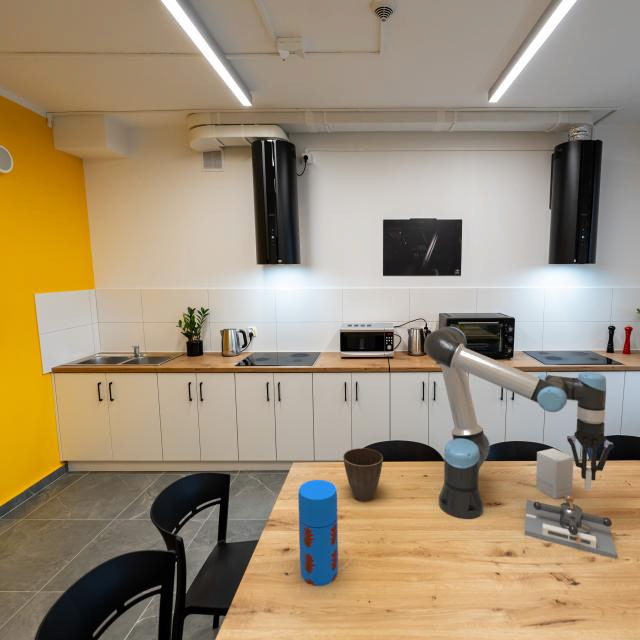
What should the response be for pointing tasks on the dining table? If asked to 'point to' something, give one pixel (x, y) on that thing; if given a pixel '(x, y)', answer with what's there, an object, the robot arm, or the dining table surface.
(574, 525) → the capstan
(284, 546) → the dining table surface
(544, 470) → the supplement box
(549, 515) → the stand
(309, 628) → the dining table surface
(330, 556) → the thermos
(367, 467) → the plant pot
